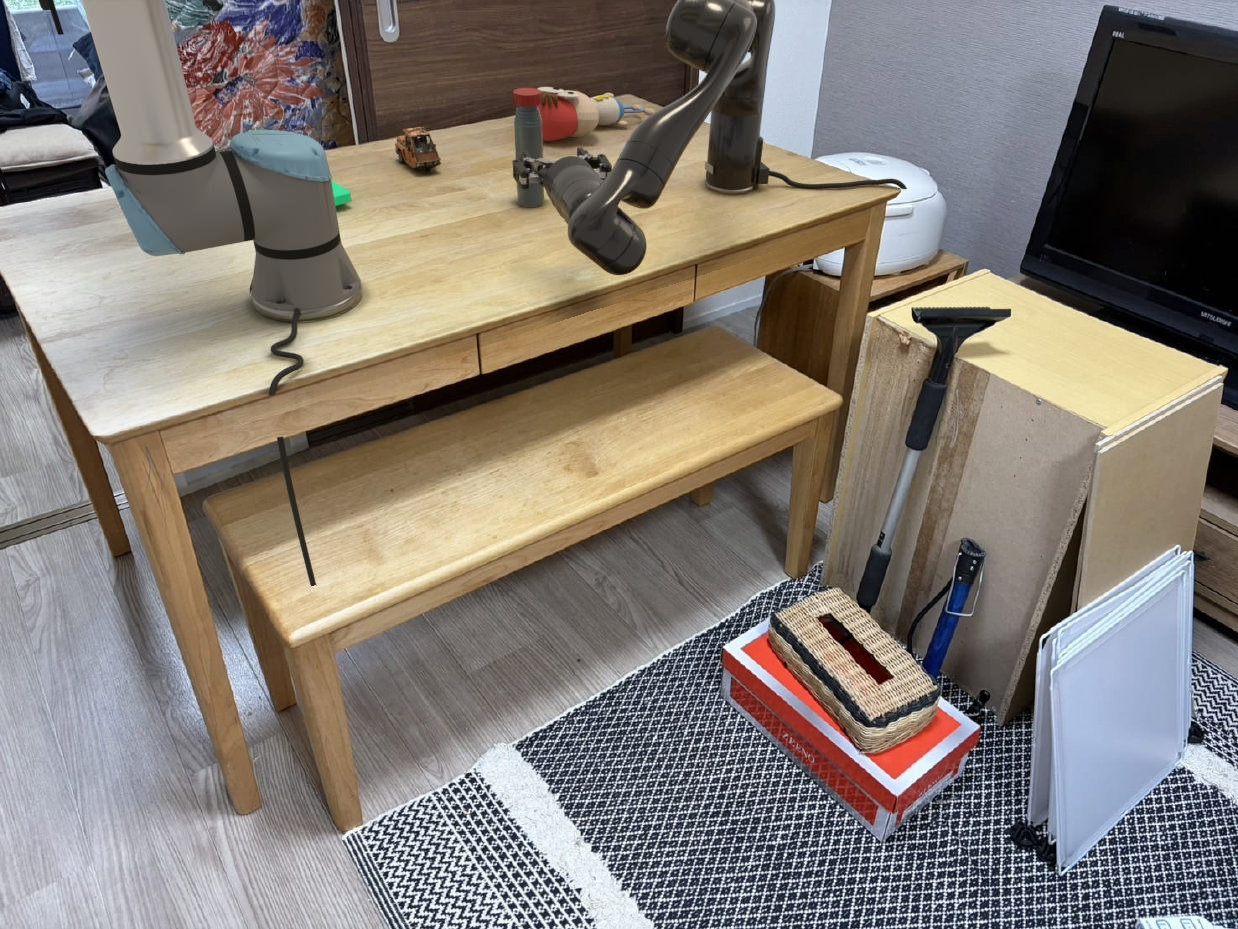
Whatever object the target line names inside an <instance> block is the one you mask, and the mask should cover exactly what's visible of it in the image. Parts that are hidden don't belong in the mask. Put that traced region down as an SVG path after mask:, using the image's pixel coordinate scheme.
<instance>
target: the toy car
mask: <svg viewBox="0 0 1238 929" xmlns="http://www.w3.org/2000/svg"><path fill="white" fill-rule="evenodd" d="M402 131H403V133H404V135H399V136H397V138H396V142H395V143H394V146H395V148H394V149H395V153H396V155H398V156H397V157H398V160H399V163H404V164H407V166H409V167H410V168H412V169H413V170H415V171H419V170H422V169H424V170H425V173H427V174H430V173H431V172H432V169H434V168H436V167H439V166H441V165H442V162H441V160H442V158H441V157H439V153H438V151H437V144H436V143H434V141H433V139H432V137H431V133H430V132H429V131H428V130H427V129H426V128H425V127H424V126H417V127H410V128H403V129H402Z"/></svg>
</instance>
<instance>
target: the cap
mask: <svg viewBox="0 0 1238 929" xmlns="http://www.w3.org/2000/svg"><path fill="white" fill-rule="evenodd" d="M512 92H513V94H512V96H513V97H512V100H513V105H515V106H517V107H518V106H522V107H534V106H538V105H540V104H541V102H542V96H541V91H540V90H539V89H538V88H535V87H519V88H516V89H514V90H513V91H512Z"/></svg>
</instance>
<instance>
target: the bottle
mask: <svg viewBox="0 0 1238 929" xmlns="http://www.w3.org/2000/svg"><path fill="white" fill-rule="evenodd" d="M513 129H514V153H515V160H516V159H517V160H520V154H523V151H528V152H529V154H530V155H531V157H532V159H539V158H544V140H543V127H542V118H541V115H540V111H539V108H538V106H534V107H522V106H517V107H516V110H515V114H514V121H513ZM532 171H533V172H534V166H533V165H532ZM516 199H517V200H516V201H517V205H519V206H521V207H524V208H537V207H541V206H543V205H544V204H545V187H543V186H541V185H539V183H531V184H530V186H529V189H526V190H525V189H521V187H520V186H519V185H518V183H517V182H516Z"/></svg>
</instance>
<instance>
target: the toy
mask: <svg viewBox="0 0 1238 929" xmlns="http://www.w3.org/2000/svg"><path fill="white" fill-rule="evenodd" d="M537 89H539V90H540V91H541V96H542V102H541V104H540V105H538V108H539V111H540V115H541V118H542V127H543V142H553V141H558V140H563V139H566V138H569V137H572V138H580V137H581V138H582V137H585V136H588V135H590V134H591V133H592V132H593V131H595V129H596V128H597V126H611V125H614V124H617V125H618V126H620V127H626V126H628V122H627V121H626V120H622V119H623V117H624V115H625V114H639V113H641V114H642V113H644V114H645V115H646V116H647V117H649V116H650V115H651V114H653V113H655V112H656V110H655V109H653V108H652V107H651V108H650V107H645V108H644V107H643V106H642V105H640V104H632V105H630V106H624V105H623V103H622V102H621V101H620V100H619V99H617V98H615V95H614V94H613V93H611V92H605V93H604V94H600V95H596V96H592V97H590V95H589V94H587V93H583V92H581V91H578V90H568V89H567V90H566V89H565V90H564V89H562V88H560V87H554V86H553V87H552V86H539V87H538V88H537Z"/></svg>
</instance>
